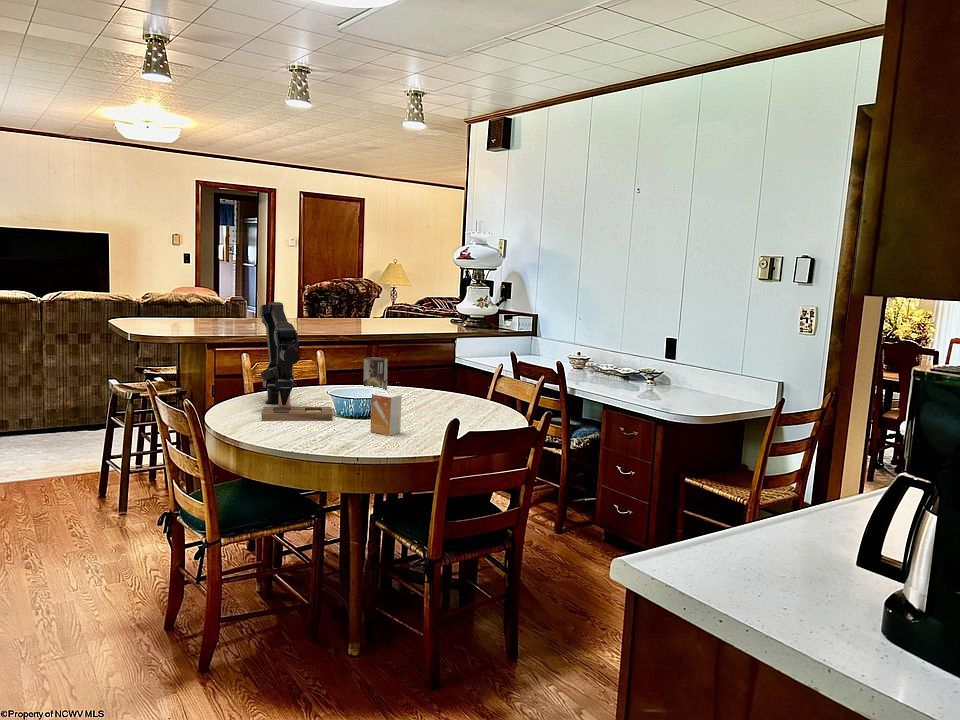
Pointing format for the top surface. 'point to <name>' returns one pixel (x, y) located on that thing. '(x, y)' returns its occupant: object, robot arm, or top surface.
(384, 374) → the coffee box
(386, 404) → the small box
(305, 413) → the socket board
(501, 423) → the top surface
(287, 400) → the plug
